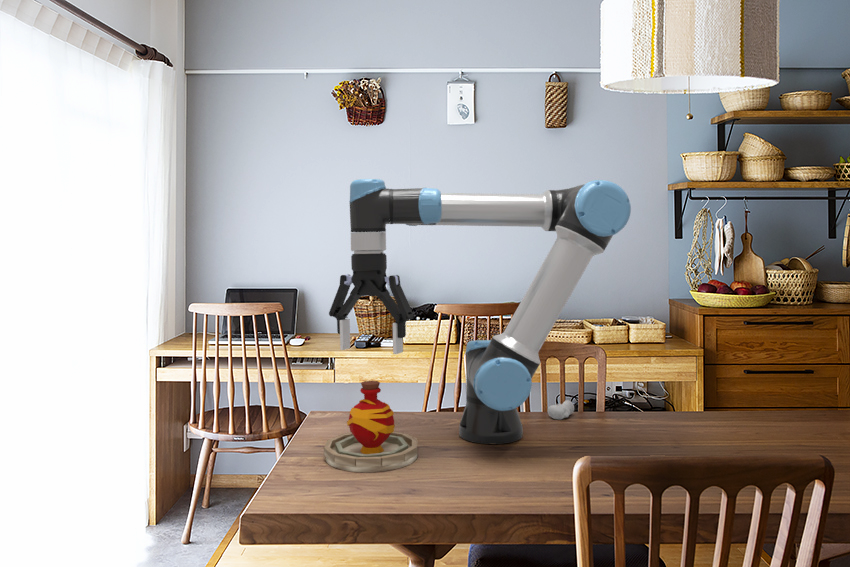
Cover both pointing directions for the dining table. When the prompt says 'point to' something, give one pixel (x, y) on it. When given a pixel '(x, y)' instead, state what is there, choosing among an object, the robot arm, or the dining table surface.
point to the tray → (349, 458)
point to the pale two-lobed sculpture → (561, 410)
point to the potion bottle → (371, 419)
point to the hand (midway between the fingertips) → (371, 351)
